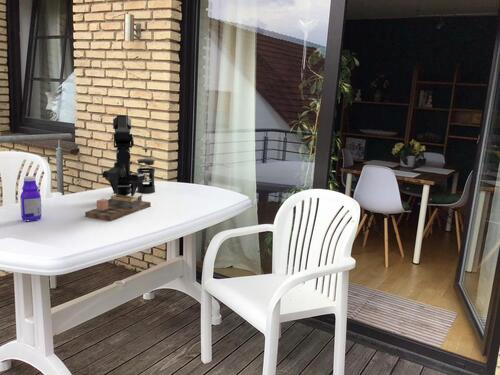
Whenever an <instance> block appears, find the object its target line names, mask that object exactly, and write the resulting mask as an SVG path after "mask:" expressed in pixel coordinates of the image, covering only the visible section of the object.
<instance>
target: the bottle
mask: <svg viewBox="0 0 500 375" xmlns="http://www.w3.org/2000/svg"><path fill="white" fill-rule="evenodd" d="M36 180H37V179H36V176H31V175H30V176H24V177H23V186H22V188H21V189H22V192H21V194H20V196H19V197H20V215H21V216H20V217H21V219H22V221H24V220H35V221H37V220H36V219H39V220H41V218H42V197H41V196H42V195H41V193H40V191H39V186H38V184H37V181H36Z"/></svg>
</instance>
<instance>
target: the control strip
mask: <svg viewBox="0 0 500 375" xmlns="http://www.w3.org/2000/svg"><path fill="white" fill-rule="evenodd" d="M127 195H128V194H127ZM127 195H125V196H127ZM142 198H143V196H139V197H138V200H137V201H135V202H132V203H130V202H124V201H117V200H111V198H108V199H107V200H108V209H106V210H97V207H96V208H93V209H91V210H90V209H89V210H87V211H84V215H85V217H86V218H89V219H96V220H103V221H109V222H112V221H115V220H117V219H120V218H123V217H125V216H128V215H130V214H134V213H137V212H140V211H141V210H145V209H147V208H150V207H151V206H152V205H151V202H150V201H145V200H142Z"/></svg>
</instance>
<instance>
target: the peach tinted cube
mask: <svg viewBox="0 0 500 375" xmlns="http://www.w3.org/2000/svg"><path fill="white" fill-rule="evenodd" d="M96 208H97V210H106V209H108V199H105V198H101V199H97V200H96Z"/></svg>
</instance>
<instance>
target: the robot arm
mask: <svg viewBox="0 0 500 375" xmlns="http://www.w3.org/2000/svg"><path fill="white" fill-rule="evenodd" d="M112 129H113V130H114V133H113V148H115V152H116V153H115V154H116V155H115V157H116V158H115V159H116V161H115V162H114V164H113V167H111V168H109V169H107V170H103V172H102V174H101V175H102V178H104V180H105V181H107V182H108V183H109V184H110V186H111V189H112V191H113V195H116V194H118V195H124V196H125V195H127V194H130V193H131V196H134V194H135V193H136V192H137V187H138V185H139V184H140V182H142V181H143V180H145V178H146V175H145V173H143V174H141V173H138V172H135V173H133V171H132V170H131V165H132V164H133V162H132V161H131V156H132V155H131V149H132V148H133V147H134V141H135V140H134V135H133V133H131V130H132V119H131V118H130V117H128V115H127V114H118V115H116V117H114V118H113V119H112Z"/></svg>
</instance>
